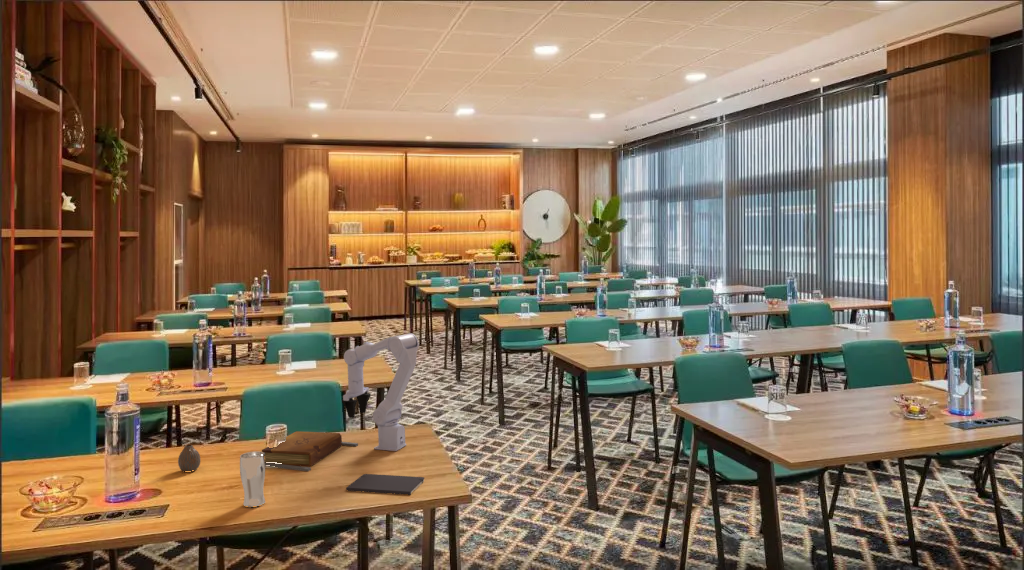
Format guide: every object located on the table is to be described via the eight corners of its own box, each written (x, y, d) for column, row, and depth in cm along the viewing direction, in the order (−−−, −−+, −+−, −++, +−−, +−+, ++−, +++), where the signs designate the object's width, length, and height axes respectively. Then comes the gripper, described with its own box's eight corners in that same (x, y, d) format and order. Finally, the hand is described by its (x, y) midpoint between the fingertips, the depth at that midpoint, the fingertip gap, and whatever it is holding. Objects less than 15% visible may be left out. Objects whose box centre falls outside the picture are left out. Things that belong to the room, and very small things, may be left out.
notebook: (346, 492, 214) (410, 496, 209) (346, 487, 213) (410, 491, 209) (364, 478, 226) (425, 481, 221) (363, 473, 226) (425, 477, 221)
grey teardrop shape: (175, 471, 236) (173, 446, 235) (195, 465, 241) (194, 441, 241) (183, 475, 231) (182, 449, 231) (204, 470, 236) (202, 445, 236)
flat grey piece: (357, 445, 260) (357, 443, 260) (308, 471, 232) (308, 468, 232) (297, 439, 270) (297, 437, 270) (243, 463, 242) (243, 461, 242)
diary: (311, 468, 237) (310, 452, 237) (262, 466, 241) (261, 450, 241) (342, 447, 259) (341, 432, 259) (296, 445, 264) (296, 430, 263)
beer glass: (258, 509, 200) (255, 458, 199) (237, 508, 202) (234, 457, 201) (271, 500, 207) (269, 451, 206) (250, 499, 208) (248, 450, 207)
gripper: (357, 375, 271) (358, 409, 272) (335, 383, 258) (337, 419, 259) (373, 376, 269) (374, 410, 270) (351, 384, 255) (353, 420, 256)
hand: (357, 415), depth 264 cm, fingers open, 7 cm apart
